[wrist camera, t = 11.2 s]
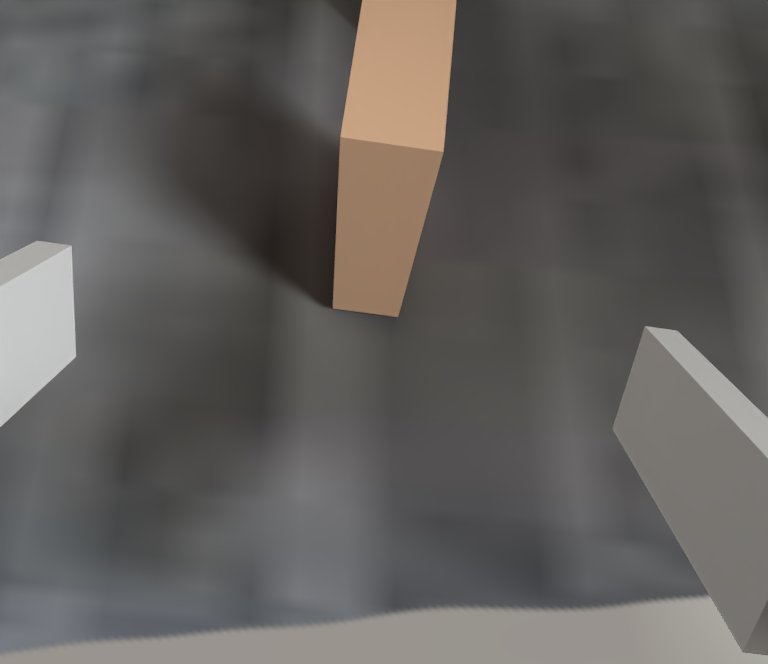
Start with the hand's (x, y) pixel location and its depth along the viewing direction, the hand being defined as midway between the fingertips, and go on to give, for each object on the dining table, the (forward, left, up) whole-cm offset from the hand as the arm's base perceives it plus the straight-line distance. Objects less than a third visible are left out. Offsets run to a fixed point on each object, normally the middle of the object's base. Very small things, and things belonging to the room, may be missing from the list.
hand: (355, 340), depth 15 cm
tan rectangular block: (0, -10, -14) cm, 17 cm away
